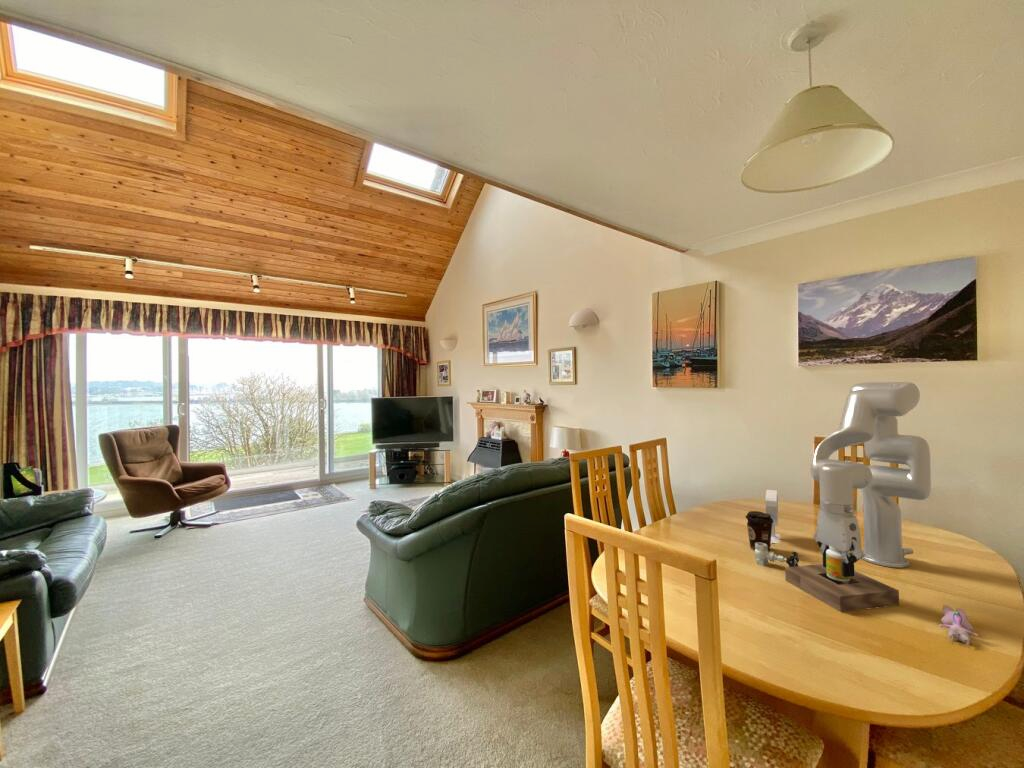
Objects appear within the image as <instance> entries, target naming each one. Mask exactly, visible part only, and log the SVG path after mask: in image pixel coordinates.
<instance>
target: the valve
mask: <svg viewBox="0 0 1024 768" xmlns="http://www.w3.org/2000/svg"><path fill="white" fill-rule="evenodd" d="M755 548H756V549H755V550H753V551H754V553H753V554H754V558H755V564H756V563H757V564H756V565H759V566H763V567H765V566H769V561H770V562H772V563H773V562H775V561H778V562H779V563H784V562H785V563H786V565H788V567H795V566H799V562H800V558H799V553H798V552H796V551H792V552H791V554H792V555H790V556H789V557H784V556H783V555H777V554H776V553H775V552H774V551H770V552H768V546H767V544H765V543H761V542H757V543H755Z"/></svg>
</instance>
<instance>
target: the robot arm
mask: <svg viewBox="0 0 1024 768" xmlns="http://www.w3.org/2000/svg"><path fill="white" fill-rule="evenodd" d="M920 397H921V395H920V390H919V387H918V386H917V385H916V384H915V383H913V382H909V381H890V382H889V381H885V382H883V381H882V382H881V381H880V382H877V381H876V382H873V381H872V382H871V381H870V382H869V381H868V382H861V383H860V382H859V383H856V384H853V385H851V386H850V388H849V393H848V394H847V396H846V398H845V404H844V407H843V411H842V415H841V418H840V422H839V426H838V429H837V430H835V431H834V432H832V433H830V434H828V436H826V437H824V439H822V440H821V441H820V442H819V443H818V444H817V447H815V450H814V454H813V457H812V461H811V466H810V473H811V478H812V479H813V480H814V481H816V482H818V483H819V509H818V514H817V521H816V532H815V533H814V534H813V536H812V537H813V539H814V540H815V542H816V544H817V546H818V547H819V548H820V552H821V554H822V564H823V567H825V568H826V550H828V549H830V548H829V546H832V547H833V548H835V549H837V550H840V551H841V552H842V555H843V559H844V562H842V575H843V576H844V577H852V576H854V571H855V563H857V562H858V561H859V560H861V559H862V560H864V561H866V562H868V563H871V564H874V565H879V566H884V567H889V568H907V567H909V566H910V562H909V560H908V558H905V556H906V555H913V554H914V550H913V549H912V548H911V547H905V548H904V547H903V535H902V534H903V533H902V532H903V531H902V528H903V527H902V511H901V508H900V506H899V505H898V503H897V501H896V500H894V497H895V498H902V499H907V500H915V501H923V500H927V499H928V498H929V497H930V495H931V491H932V490H931V489H932V485H931V483H932V480H931V479H932V477H931V473H932V472H931V470H932V469H931V450H930V446H929V443H928V441H927V440H926V439H925V438H924V437H922V436H921V437H920V436H917V435H911V434H909V435H908V434H899V432H898V418H897V417H902V416H903V417H904V416H906V414H907V415H908V413H910V411H912V410H913V409H914V408H916V406H918V403H919V402H920ZM862 443H863V444H864V445H863V446H864V447H863V448H864V454H865V456H866V458H867V459H868V460H872V461H874V462H875V461H876V462H882V463H890V464H896V465H897V464H900V465H906V466H907V467H908V468H902V467H895V466H894V467H893V466H886V465H866V464H864V463H861V462H857V461H847V460H839V459H830V457H831V456H832V455H833V454H834V453H835V452H837V451H839V450H841V449H845V448H848V447H851V446H855V445H858V444H859V445H860V444H862ZM854 489H855V490H856V489H857V490H859V489H860V490H861V495H862V496H861V497H862V506H863V507H862V509H863V540H864V541H863V543H864V545H863V546H864V549H862V536H861V529H860V525H859V521H858V518H857V515H855V514H856V512H857V511H856V509H855V508H854V492H853V491H854ZM847 553H848V554H849V556H850V557H848V554H847Z"/></svg>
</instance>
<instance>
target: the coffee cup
mask: <svg viewBox="0 0 1024 768" xmlns="http://www.w3.org/2000/svg"><path fill="white" fill-rule="evenodd" d="M745 519H747V522H746V525H747V533H748V535H747V536H748V540H749V547H750V549H751V550H753V551H755V549H756V548H755V543H757V542H761V543H765V544H767V546H768V552H771V549H770V548H771V545H772V544H771V533H772V531H771V530H772V523H773V520H772V518H771V516H770V515H769V514H766V512H763V511H760V510H759V511H758V510H757V511H756V510H755V511H754V510H752V511H751V510H750V511H748V512H747V514H746V515H745Z"/></svg>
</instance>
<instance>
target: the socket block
mask: <svg viewBox="0 0 1024 768" xmlns="http://www.w3.org/2000/svg"><path fill="white" fill-rule="evenodd" d="M784 569H785V571H784V573H785V574H784V575H785V581H786V582H787V581H788V582H787V583H789V584H791V585H792V586H795V587H796V588H798V589H799V590H802V591H803V592H805V593H806V594H809V595H811V596H812V597H814V598H816V599H818V600H819V601H820V602H822V603H824V604H826V605H828V606H829V607H831V608H832V609H835V610H837V611H838V612H841V613H843V612H851V611H860V609H862V610H868V609H867V608H871V609H877V608H876V607H880V608H885V607H884V606H889V607H894V606H893V605H898V606H900V592H899V589H896V588H894V587H892V586H890V585H887V584H885V583H883V582H881V581H879V580H876V579H874V578H873V577H871V576H870V577H869V576H867V575H865V574H863V573H861V572H858V571H857V570H854V576H852V577H850V580H849V581H846V582H843V581H837V580H834V579H831V578H829V577H828V576H827V573H826V568H825V567H823V563H820V564H810V565H809V564H807V565H798V566H795V567H789V566H787V567H786V566H785V567H784Z"/></svg>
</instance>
